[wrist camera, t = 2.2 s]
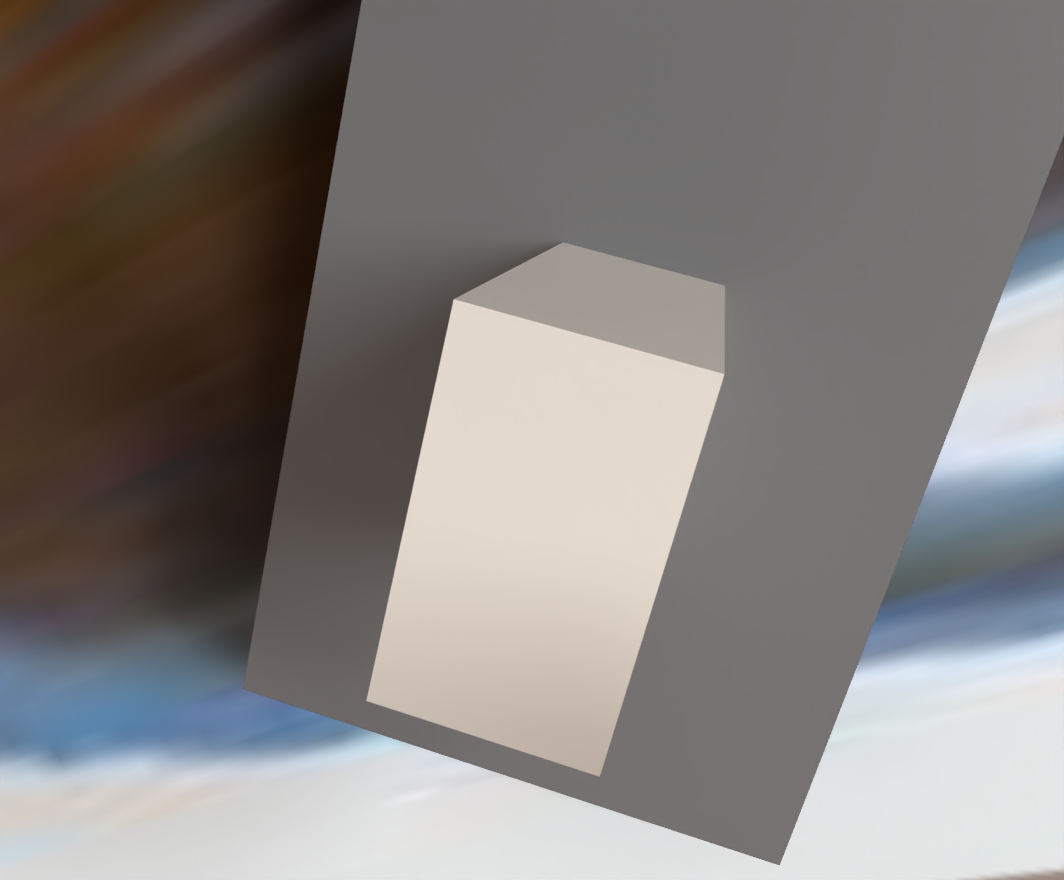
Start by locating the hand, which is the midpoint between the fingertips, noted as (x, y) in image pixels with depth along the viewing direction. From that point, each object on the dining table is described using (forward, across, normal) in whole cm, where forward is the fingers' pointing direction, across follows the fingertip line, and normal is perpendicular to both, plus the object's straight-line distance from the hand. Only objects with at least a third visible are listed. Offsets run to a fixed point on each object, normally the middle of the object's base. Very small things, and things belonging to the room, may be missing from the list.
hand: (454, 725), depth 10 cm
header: (+17, 0, 0) cm, 17 cm away
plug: (+17, 0, 0) cm, 17 cm away
